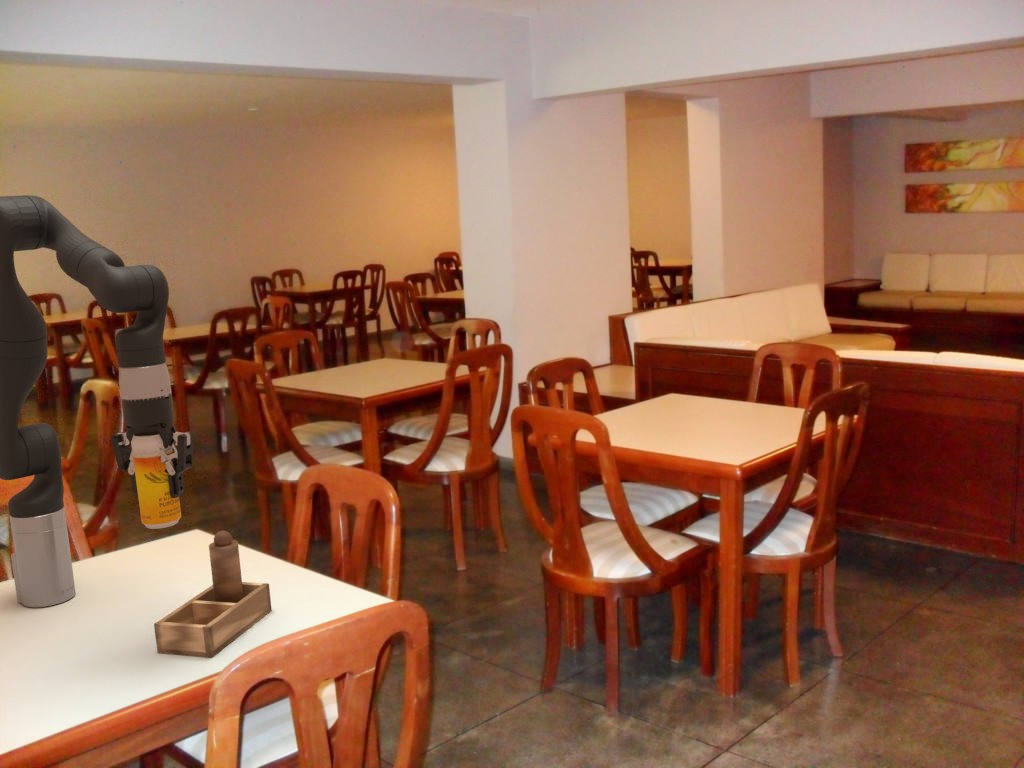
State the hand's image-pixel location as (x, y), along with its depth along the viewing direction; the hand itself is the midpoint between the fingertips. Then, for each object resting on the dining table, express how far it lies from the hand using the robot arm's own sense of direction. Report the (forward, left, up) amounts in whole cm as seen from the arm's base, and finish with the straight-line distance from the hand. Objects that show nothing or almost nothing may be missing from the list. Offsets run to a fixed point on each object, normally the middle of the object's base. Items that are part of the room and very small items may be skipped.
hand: (159, 495), depth 159 cm
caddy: (+4, +6, -25) cm, 26 cm away
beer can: (0, 0, -5) cm, 5 cm away
